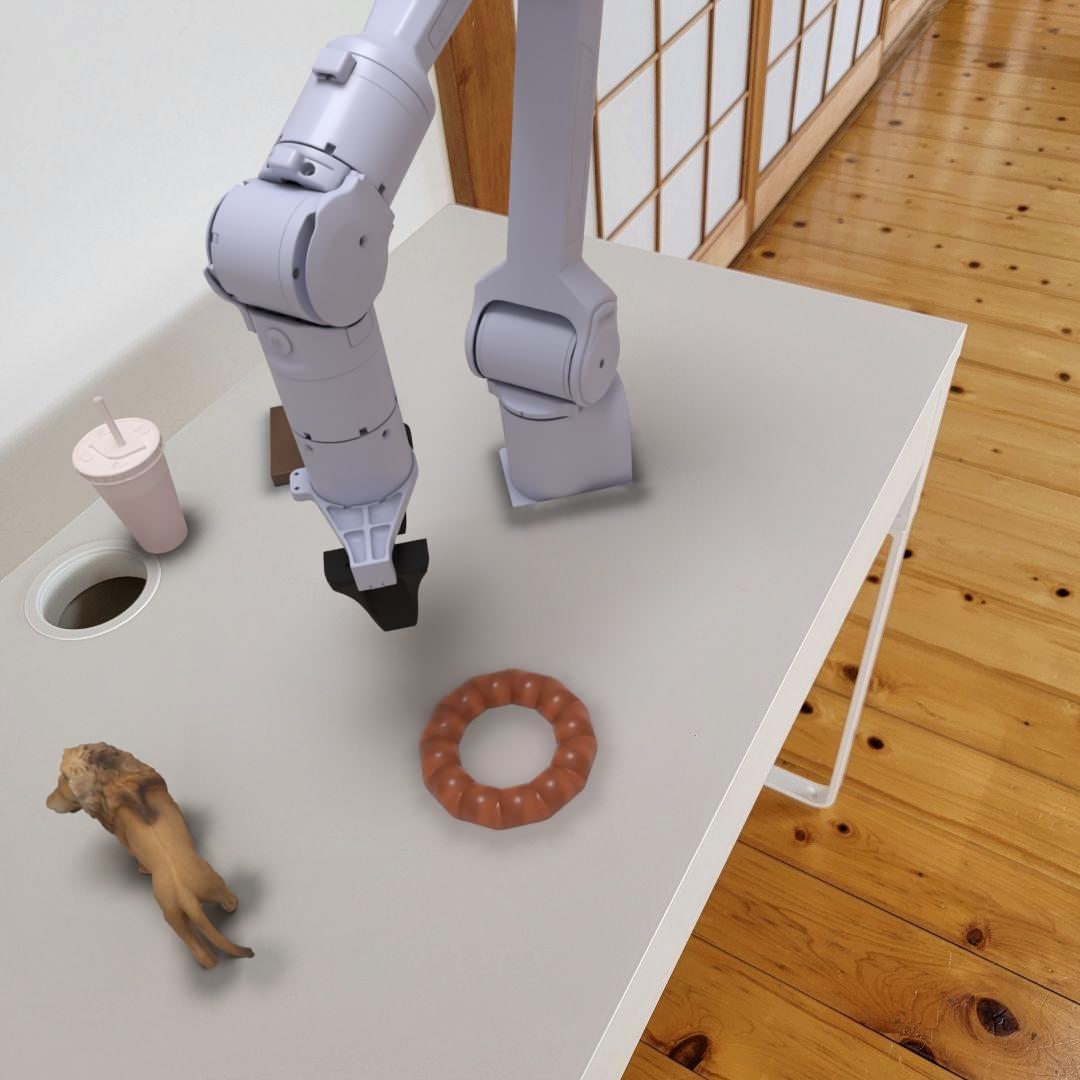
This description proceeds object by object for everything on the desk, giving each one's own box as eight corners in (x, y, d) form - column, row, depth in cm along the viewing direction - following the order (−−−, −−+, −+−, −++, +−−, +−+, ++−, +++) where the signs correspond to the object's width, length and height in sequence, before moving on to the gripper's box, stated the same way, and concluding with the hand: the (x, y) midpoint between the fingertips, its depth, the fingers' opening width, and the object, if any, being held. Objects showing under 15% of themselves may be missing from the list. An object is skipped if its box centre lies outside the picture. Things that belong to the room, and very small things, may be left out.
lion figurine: (85, 847, 61) (15, 773, 54) (157, 785, 63) (98, 706, 57) (232, 1004, 54) (171, 941, 47) (306, 927, 56) (259, 856, 50)
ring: (575, 669, 66) (572, 647, 65) (614, 813, 59) (612, 794, 57) (415, 703, 66) (408, 682, 64) (435, 854, 58) (428, 835, 57)
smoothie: (183, 570, 76) (109, 432, 66) (108, 562, 77) (24, 425, 67) (217, 510, 80) (153, 371, 70) (146, 504, 81) (72, 367, 71)
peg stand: (374, 398, 88) (357, 335, 83) (383, 464, 82) (365, 401, 77) (273, 417, 88) (250, 356, 83) (274, 486, 82) (249, 424, 77)
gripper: (267, 341, 56) (326, 508, 66) (265, 518, 47) (335, 684, 56) (389, 318, 57) (430, 488, 67) (413, 489, 47) (457, 659, 57)
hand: (394, 576), depth 62 cm, fingers open, 7 cm apart
